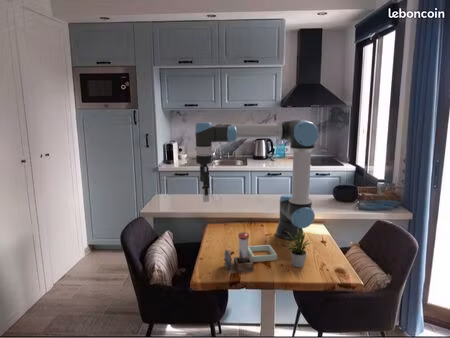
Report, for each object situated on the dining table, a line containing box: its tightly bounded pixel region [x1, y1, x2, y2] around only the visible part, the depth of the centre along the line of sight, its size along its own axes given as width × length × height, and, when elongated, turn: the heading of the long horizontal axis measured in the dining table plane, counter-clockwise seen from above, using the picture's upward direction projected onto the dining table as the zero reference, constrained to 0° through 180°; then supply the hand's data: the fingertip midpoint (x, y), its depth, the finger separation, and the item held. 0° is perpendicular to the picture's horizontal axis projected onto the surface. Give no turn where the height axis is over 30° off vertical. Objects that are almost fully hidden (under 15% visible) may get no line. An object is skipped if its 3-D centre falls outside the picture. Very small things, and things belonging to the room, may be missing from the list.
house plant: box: [284, 229, 312, 268], centre depth 155 cm, size 14×14×16 cm
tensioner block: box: [223, 249, 256, 274], centre depth 150 cm, size 13×10×10 cm
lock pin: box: [237, 232, 250, 263], centre depth 150 cm, size 5×5×15 cm
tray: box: [248, 244, 278, 263], centre depth 162 cm, size 12×12×4 cm
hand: (204, 197), depth 165 cm, fingers open, 13 cm apart
